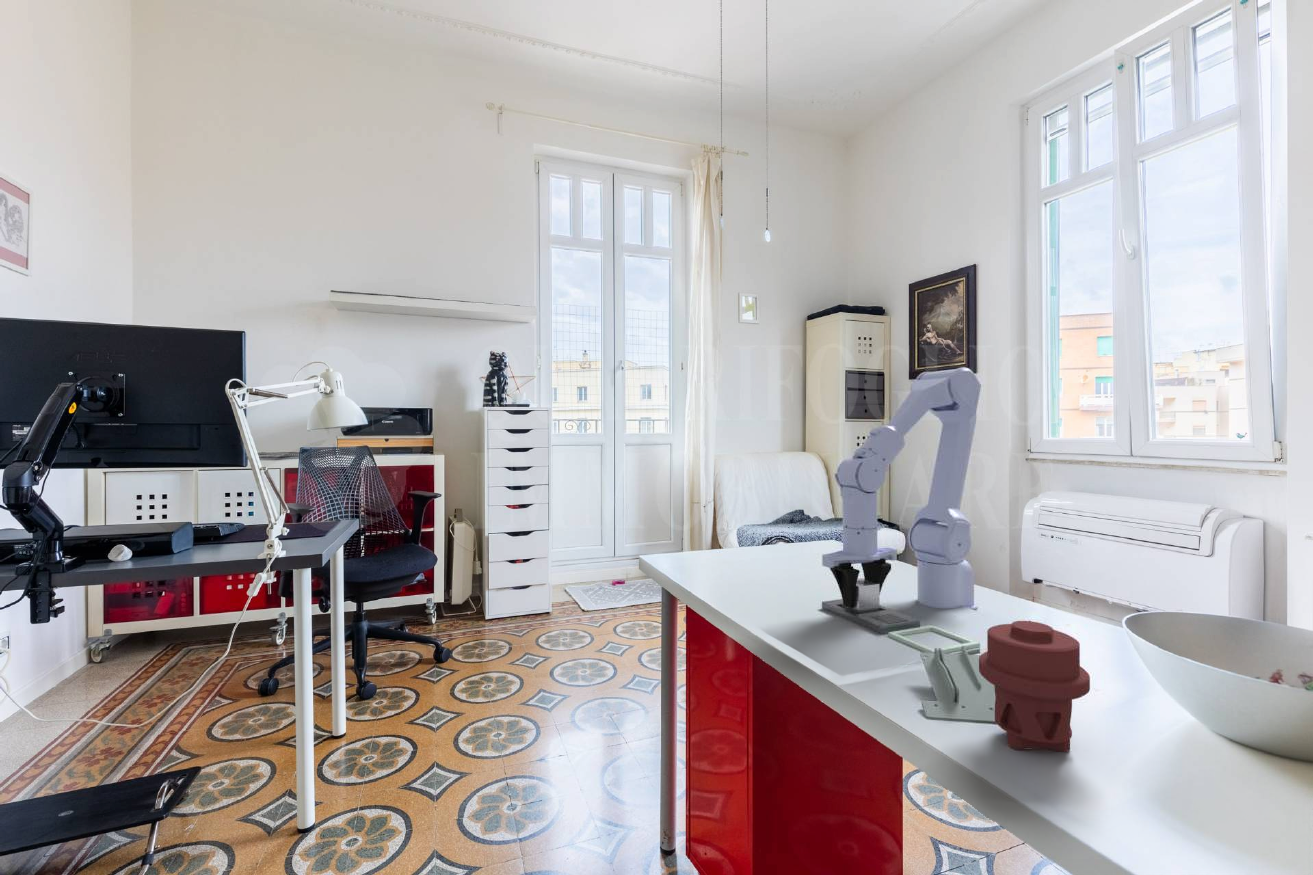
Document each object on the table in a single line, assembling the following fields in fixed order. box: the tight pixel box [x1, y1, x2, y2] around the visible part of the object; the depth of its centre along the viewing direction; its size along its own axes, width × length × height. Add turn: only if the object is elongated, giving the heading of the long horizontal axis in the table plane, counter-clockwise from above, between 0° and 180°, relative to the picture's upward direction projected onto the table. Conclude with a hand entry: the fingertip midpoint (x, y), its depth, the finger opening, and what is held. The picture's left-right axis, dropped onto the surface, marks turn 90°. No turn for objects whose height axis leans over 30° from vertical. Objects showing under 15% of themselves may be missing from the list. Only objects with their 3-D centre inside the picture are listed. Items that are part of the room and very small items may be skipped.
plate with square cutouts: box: [821, 598, 921, 635], centre depth 104 cm, size 8×15×2 cm, turn 22°
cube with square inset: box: [842, 577, 881, 614], centre depth 106 cm, size 4×4×6 cm
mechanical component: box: [979, 620, 1091, 753], centre depth 65 cm, size 12×10×10 cm
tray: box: [887, 624, 981, 655], centre depth 92 cm, size 9×9×2 cm
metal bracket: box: [920, 646, 997, 725], centre depth 75 cm, size 14×6×15 cm
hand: (860, 604), depth 106 cm, fingers closed on cube with square inset, 4 cm apart
